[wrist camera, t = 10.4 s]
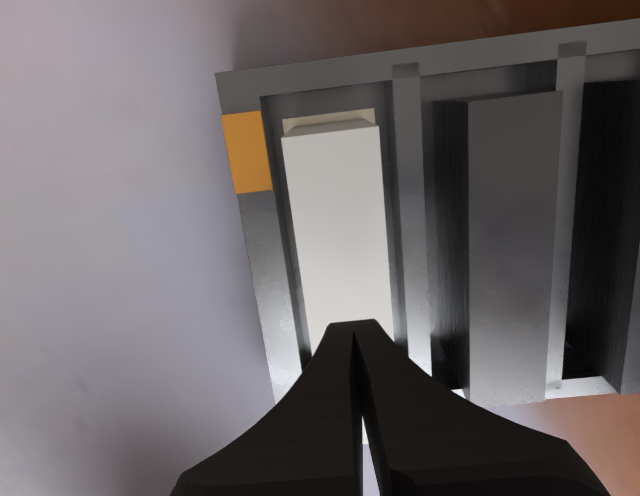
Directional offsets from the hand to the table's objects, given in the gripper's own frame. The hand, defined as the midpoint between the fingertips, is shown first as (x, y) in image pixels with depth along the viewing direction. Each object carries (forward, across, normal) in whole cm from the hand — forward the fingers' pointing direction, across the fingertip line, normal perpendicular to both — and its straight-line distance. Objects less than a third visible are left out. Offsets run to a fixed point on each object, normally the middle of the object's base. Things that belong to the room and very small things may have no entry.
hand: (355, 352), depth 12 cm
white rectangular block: (+9, 0, 0) cm, 9 cm away
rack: (+10, -6, 0) cm, 12 cm away
